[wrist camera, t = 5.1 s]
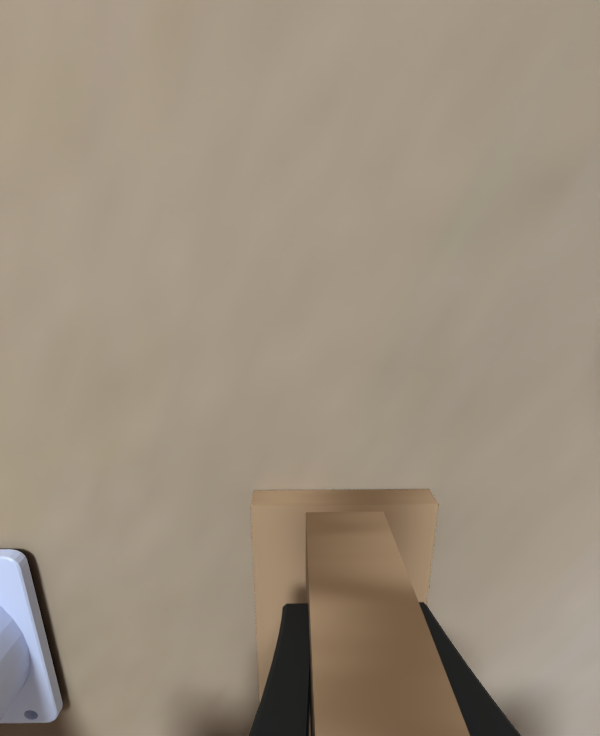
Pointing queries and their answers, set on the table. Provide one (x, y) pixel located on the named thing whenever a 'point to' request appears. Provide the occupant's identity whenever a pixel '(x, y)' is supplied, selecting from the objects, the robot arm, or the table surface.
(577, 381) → the table surface
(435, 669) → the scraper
